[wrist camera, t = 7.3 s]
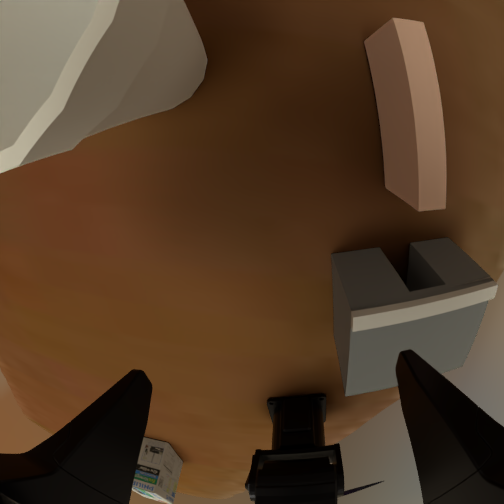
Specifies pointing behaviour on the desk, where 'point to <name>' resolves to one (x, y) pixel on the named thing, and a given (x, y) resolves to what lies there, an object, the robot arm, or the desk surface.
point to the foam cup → (89, 69)
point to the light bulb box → (157, 471)
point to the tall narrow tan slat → (409, 113)
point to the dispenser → (405, 311)
